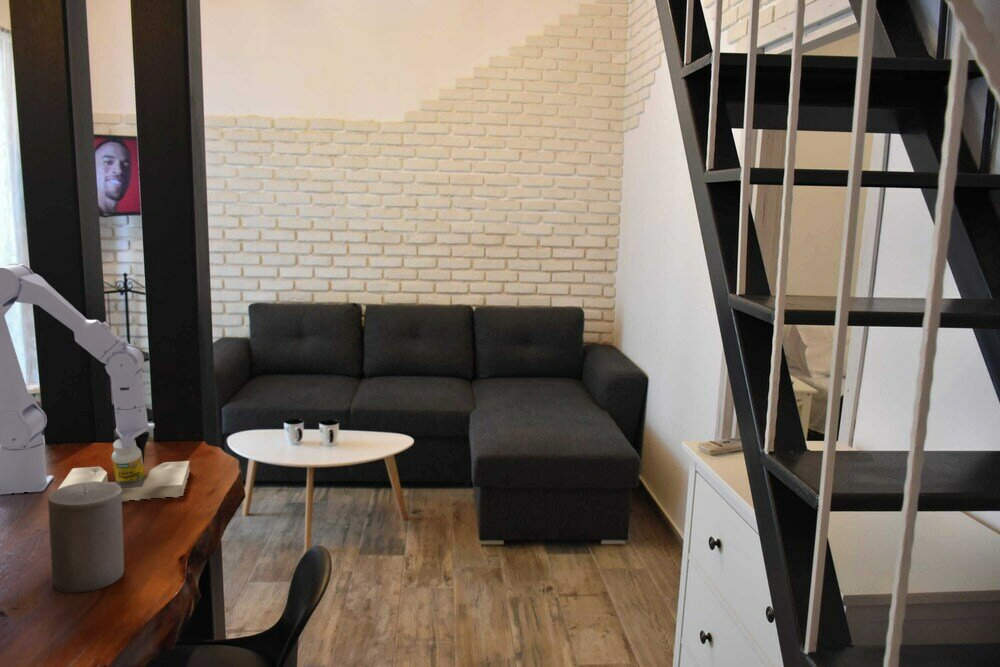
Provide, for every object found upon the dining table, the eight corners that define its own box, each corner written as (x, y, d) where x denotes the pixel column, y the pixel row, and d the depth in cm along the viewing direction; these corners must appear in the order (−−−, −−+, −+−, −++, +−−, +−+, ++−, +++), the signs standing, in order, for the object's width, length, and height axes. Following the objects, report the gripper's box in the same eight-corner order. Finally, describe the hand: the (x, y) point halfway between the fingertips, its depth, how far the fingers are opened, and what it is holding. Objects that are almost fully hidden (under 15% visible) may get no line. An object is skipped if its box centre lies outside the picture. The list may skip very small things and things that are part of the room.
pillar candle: (47, 598, 104) (41, 500, 102) (57, 567, 113) (52, 475, 110) (122, 587, 108) (119, 492, 105) (127, 558, 117) (124, 470, 114)
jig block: (54, 506, 135) (53, 493, 134) (73, 479, 148) (72, 467, 147) (182, 496, 142) (182, 483, 141) (189, 472, 155) (189, 460, 154)
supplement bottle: (144, 471, 150) (138, 432, 146) (147, 486, 146) (141, 447, 142) (115, 477, 147) (108, 438, 143) (117, 492, 143) (110, 453, 139)
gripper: (146, 413, 141) (153, 479, 143) (156, 394, 154) (162, 455, 157) (106, 417, 138) (114, 484, 141) (119, 398, 152) (126, 459, 154)
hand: (137, 469), depth 149 cm, fingers closed, pressing on supplement bottle
